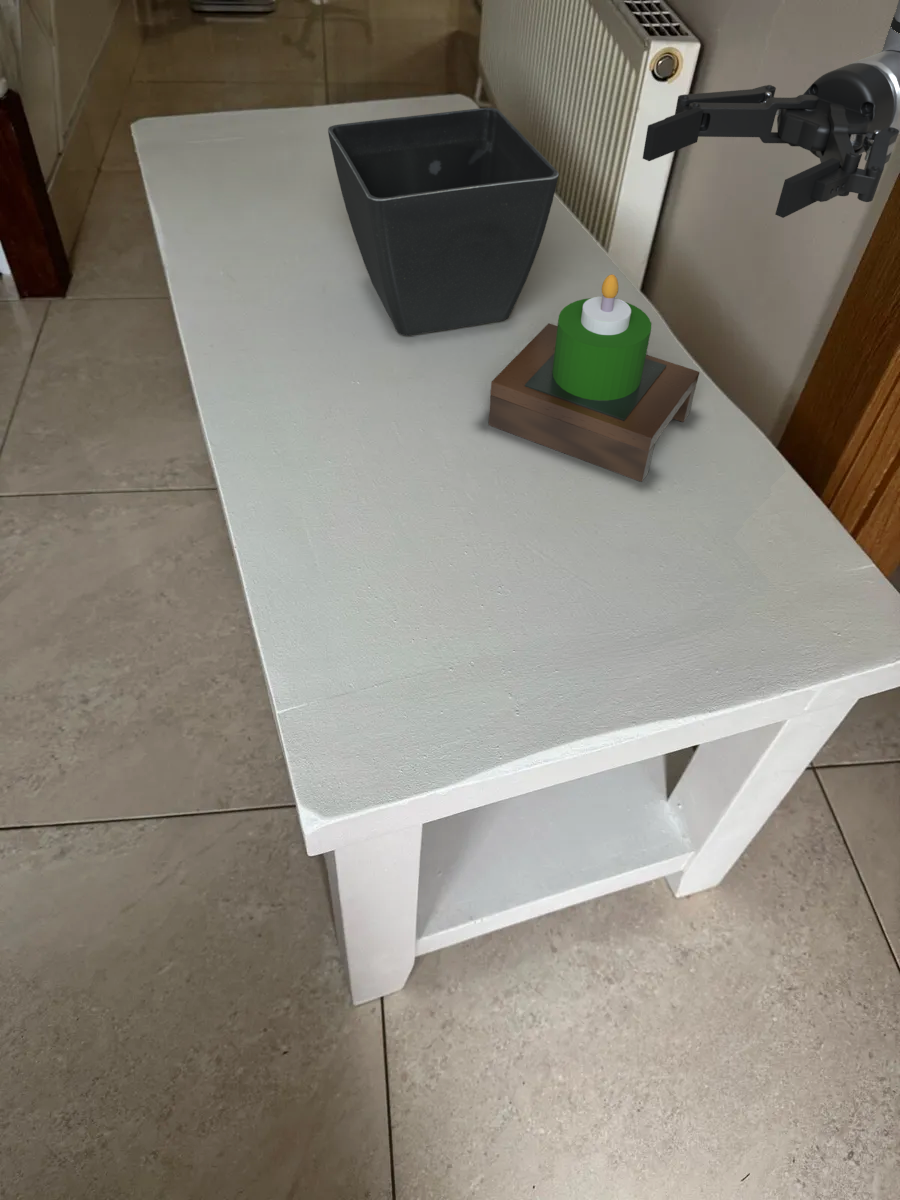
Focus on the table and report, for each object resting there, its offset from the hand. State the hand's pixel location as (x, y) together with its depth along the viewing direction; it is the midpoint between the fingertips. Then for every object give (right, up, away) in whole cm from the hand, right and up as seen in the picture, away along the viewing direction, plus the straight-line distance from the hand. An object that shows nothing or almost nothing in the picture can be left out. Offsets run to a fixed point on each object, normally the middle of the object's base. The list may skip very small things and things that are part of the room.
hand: (712, 170), depth 75 cm
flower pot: (-23, -1, +30) cm, 38 cm away
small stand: (-8, -17, +16) cm, 24 cm away
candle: (-8, -14, +12) cm, 20 cm away
